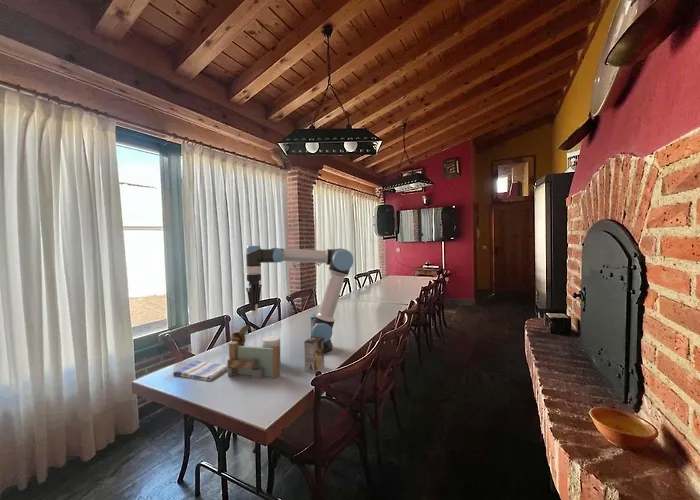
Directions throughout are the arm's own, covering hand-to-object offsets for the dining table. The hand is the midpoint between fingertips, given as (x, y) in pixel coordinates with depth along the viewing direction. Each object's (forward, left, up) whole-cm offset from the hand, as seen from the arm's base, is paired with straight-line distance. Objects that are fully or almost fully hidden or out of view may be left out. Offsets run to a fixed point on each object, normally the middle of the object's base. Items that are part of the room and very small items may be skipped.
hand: (254, 315), depth 168 cm
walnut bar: (-2, +17, -21) cm, 28 cm away
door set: (-7, +15, -26) cm, 31 cm away
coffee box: (-35, +2, -27) cm, 44 cm away
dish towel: (+22, +15, -27) cm, 38 cm away
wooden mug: (+17, -12, -27) cm, 34 cm away
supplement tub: (-10, +1, -27) cm, 28 cm away
